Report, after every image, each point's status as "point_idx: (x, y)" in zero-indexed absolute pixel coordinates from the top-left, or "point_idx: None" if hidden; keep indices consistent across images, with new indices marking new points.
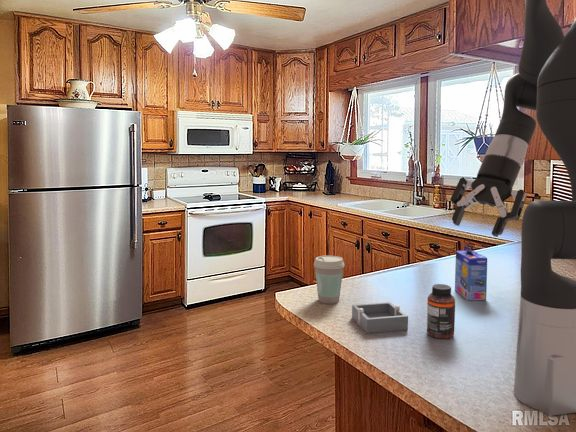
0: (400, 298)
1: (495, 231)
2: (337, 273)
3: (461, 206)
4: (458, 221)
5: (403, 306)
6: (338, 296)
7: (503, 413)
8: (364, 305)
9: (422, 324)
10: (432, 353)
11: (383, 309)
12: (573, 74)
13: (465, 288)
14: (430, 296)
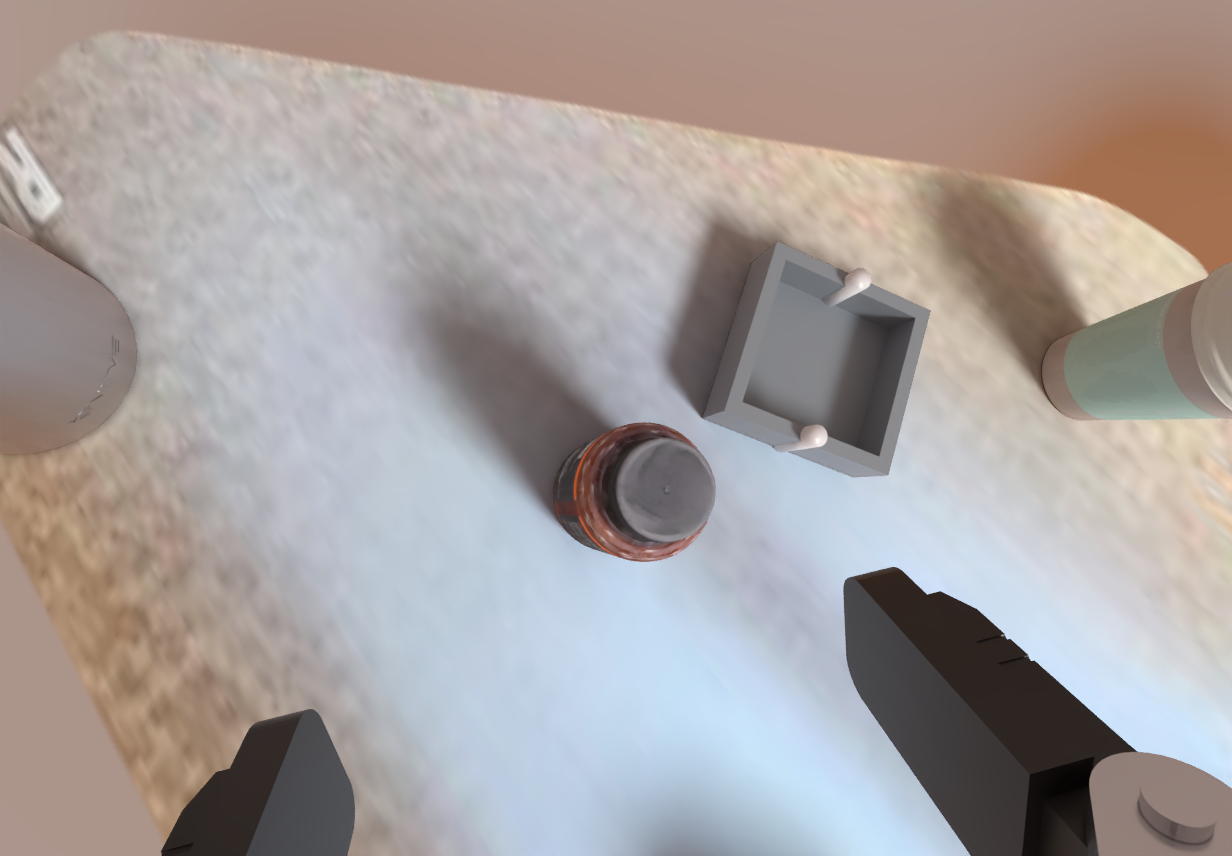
0: None
1: (248, 744)
2: (1168, 345)
3: (1087, 820)
4: (871, 656)
5: None
6: (1066, 390)
7: (70, 163)
8: (905, 352)
9: (713, 514)
10: (499, 328)
11: (868, 437)
12: None
13: None
14: (675, 436)
